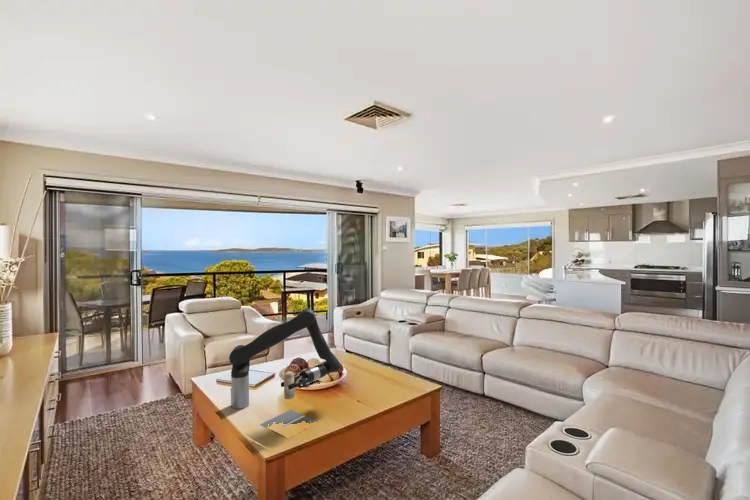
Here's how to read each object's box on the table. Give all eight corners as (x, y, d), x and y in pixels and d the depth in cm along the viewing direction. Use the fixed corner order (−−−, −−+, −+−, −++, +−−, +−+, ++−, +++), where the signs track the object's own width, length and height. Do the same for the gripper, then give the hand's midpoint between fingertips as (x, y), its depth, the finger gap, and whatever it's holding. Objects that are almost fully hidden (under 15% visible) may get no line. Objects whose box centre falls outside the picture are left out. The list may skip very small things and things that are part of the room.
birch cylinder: (282, 397, 188) (281, 374, 188) (289, 394, 192) (289, 371, 192) (288, 400, 185) (288, 376, 185) (296, 396, 189) (296, 373, 189)
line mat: (259, 425, 187) (259, 424, 187) (290, 410, 203) (290, 409, 203) (288, 440, 174) (288, 438, 174) (319, 422, 190) (319, 421, 190)
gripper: (300, 365, 204) (275, 375, 190) (319, 371, 196) (294, 382, 182) (300, 379, 204) (275, 390, 191) (319, 385, 196) (294, 397, 182)
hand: (285, 386), depth 186 cm, fingers closed on birch cylinder, 5 cm apart
